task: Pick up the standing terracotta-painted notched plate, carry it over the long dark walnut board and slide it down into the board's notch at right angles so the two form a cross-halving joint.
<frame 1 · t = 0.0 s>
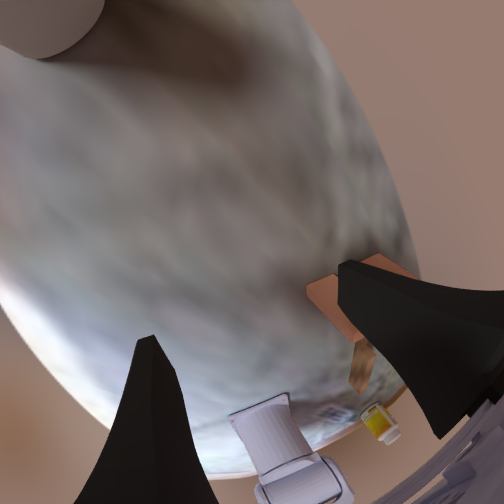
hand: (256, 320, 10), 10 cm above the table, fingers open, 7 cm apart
beverage can: (60, 19, 8), on the table
walnut board: (359, 340, 32), on the table
supplement bottle: (369, 408, 50), on the table
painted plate: (345, 273, 25), on the table
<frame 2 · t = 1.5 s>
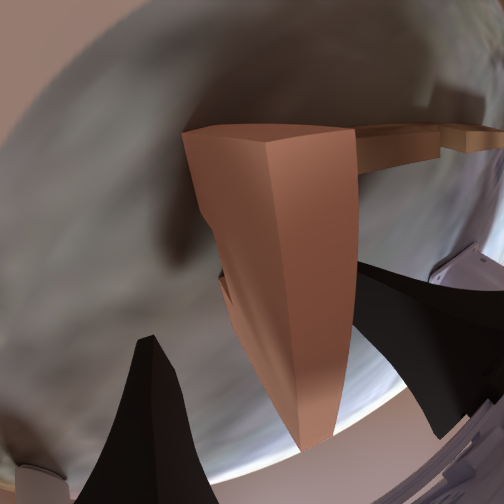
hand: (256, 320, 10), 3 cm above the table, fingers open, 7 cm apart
beverage can: (41, 472, 14), on the table
walnut board: (419, 132, 12), on the table
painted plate: (223, 242, 11), on the table
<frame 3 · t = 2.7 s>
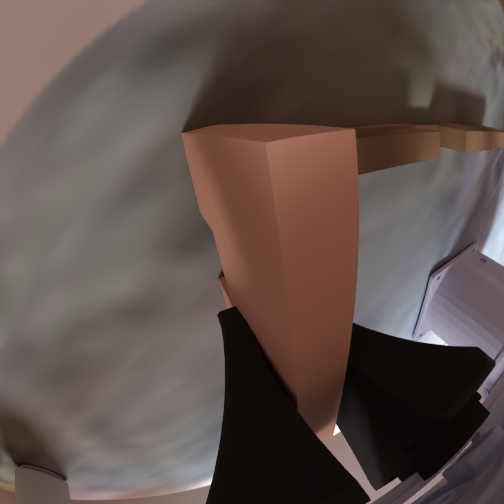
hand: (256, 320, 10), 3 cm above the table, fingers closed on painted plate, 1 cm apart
beverage can: (41, 472, 14), on the table
walnut board: (419, 132, 12), on the table
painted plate: (223, 242, 11), on the table, touching gripper
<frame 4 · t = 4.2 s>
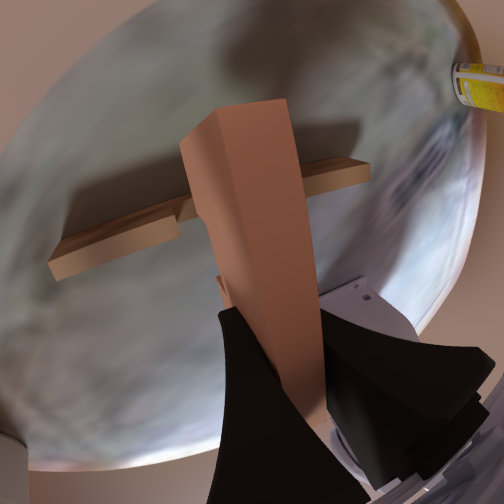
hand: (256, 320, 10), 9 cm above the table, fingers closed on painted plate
beverage can: (9, 440, 18), on the table
walnut board: (211, 197, 16), on the table
supplement bottle: (458, 83, 20), on the table
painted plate: (219, 242, 12), point 5 cm above the table, tilted 8°, touching gripper
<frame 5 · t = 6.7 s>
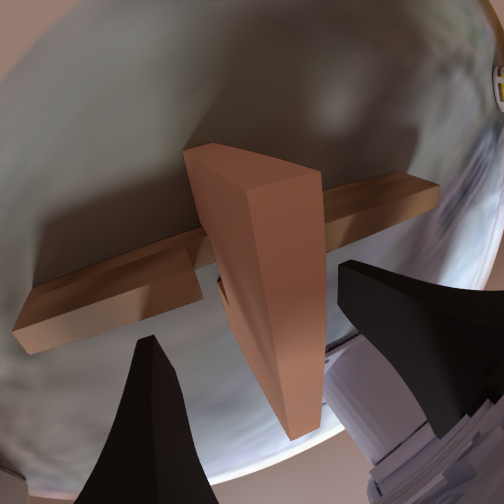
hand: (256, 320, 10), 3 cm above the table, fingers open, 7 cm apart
beverage can: (7, 472, 13), on the table
walnut board: (240, 228, 12), on the table
supplement bottle: (497, 88, 15), on the table
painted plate: (222, 249, 12), on the table
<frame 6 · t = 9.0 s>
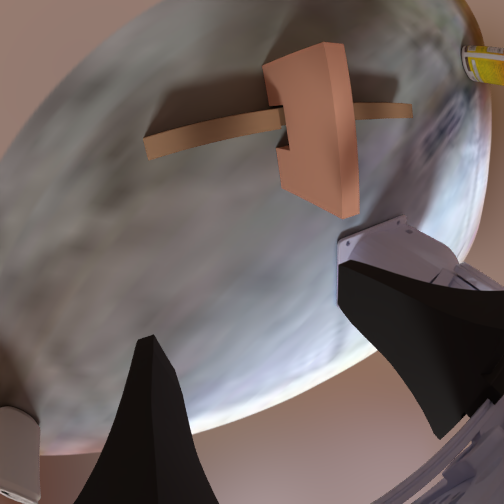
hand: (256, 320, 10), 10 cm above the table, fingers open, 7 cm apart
beverage can: (19, 416, 19), on the table
walnut board: (291, 114, 17), on the table
supplement bottle: (466, 62, 21), on the table
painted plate: (280, 125, 17), on the table
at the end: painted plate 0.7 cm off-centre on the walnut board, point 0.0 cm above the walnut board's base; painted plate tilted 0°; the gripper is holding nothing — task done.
